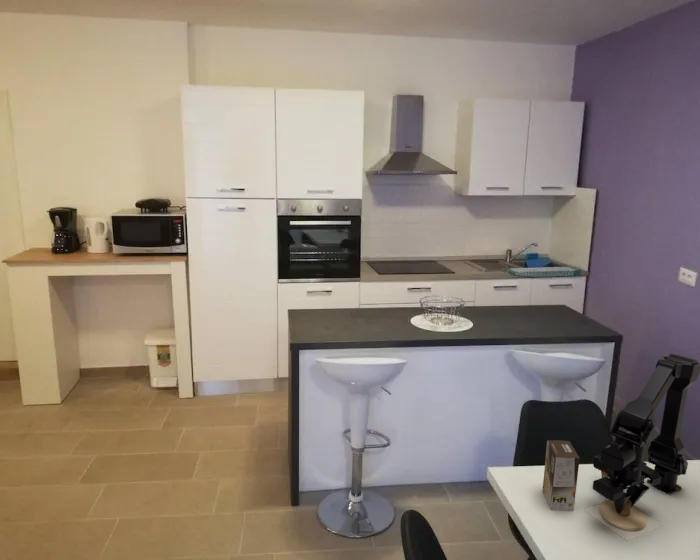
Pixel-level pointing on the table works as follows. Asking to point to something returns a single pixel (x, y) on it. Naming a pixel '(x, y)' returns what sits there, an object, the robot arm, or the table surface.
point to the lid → (623, 516)
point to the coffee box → (560, 475)
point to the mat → (622, 532)
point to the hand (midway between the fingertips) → (623, 510)
